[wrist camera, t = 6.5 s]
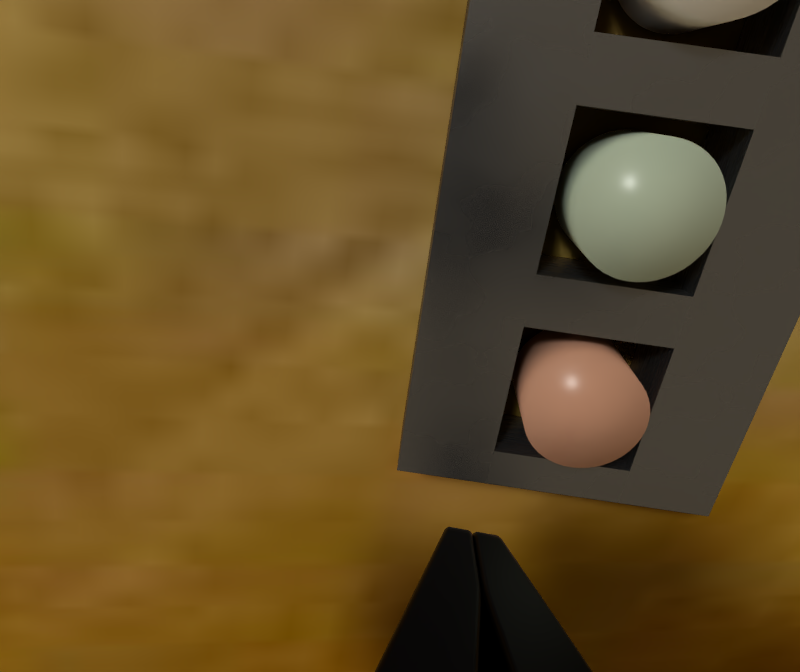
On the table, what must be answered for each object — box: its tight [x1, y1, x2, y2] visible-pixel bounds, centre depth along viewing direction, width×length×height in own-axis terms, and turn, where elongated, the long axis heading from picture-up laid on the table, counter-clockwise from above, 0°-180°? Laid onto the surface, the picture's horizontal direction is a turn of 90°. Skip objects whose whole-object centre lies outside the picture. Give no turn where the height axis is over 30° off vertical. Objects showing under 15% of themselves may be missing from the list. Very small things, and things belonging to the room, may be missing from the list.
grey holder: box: [397, 0, 800, 516], centre depth 16 cm, size 10×19×2 cm, turn 173°
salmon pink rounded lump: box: [512, 330, 650, 468], centre depth 17 cm, size 4×4×3 cm
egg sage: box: [555, 129, 727, 282], centre depth 15 cm, size 4×4×3 cm
